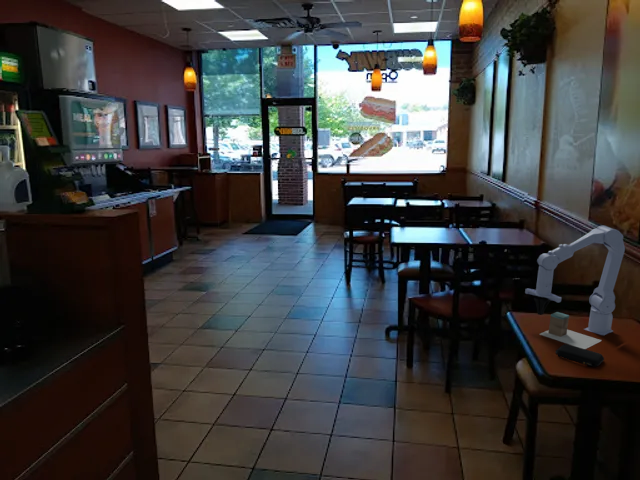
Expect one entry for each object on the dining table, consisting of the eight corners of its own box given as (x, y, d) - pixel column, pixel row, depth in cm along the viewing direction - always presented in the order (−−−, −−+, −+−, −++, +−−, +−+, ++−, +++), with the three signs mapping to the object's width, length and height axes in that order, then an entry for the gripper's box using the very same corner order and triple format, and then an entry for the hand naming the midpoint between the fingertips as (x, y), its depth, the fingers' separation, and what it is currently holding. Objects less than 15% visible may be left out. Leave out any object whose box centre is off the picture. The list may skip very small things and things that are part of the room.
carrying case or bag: (552, 357, 186) (596, 371, 176) (553, 349, 185) (597, 362, 175) (562, 349, 193) (604, 361, 184) (563, 341, 193) (606, 353, 183)
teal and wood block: (554, 330, 210) (557, 311, 208) (566, 334, 206) (569, 315, 204) (548, 332, 207) (550, 314, 205) (560, 336, 203) (563, 317, 201)
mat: (557, 327, 214) (557, 326, 214) (601, 341, 201) (602, 340, 200) (539, 335, 205) (539, 334, 205) (584, 350, 191) (584, 349, 191)
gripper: (522, 280, 211) (519, 310, 214) (556, 288, 200) (552, 321, 203) (531, 277, 216) (528, 307, 218) (565, 286, 205) (561, 317, 207)
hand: (540, 314), depth 211 cm, fingers closed
